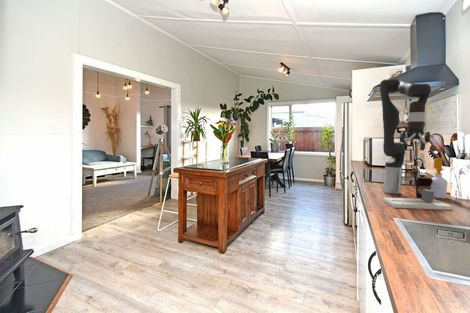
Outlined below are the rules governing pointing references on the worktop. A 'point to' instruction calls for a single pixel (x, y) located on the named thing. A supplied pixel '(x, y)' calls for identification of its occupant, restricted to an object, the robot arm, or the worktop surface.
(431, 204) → the console board
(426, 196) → the fader cap
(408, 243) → the worktop surface
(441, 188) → the soap bottle
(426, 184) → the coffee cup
